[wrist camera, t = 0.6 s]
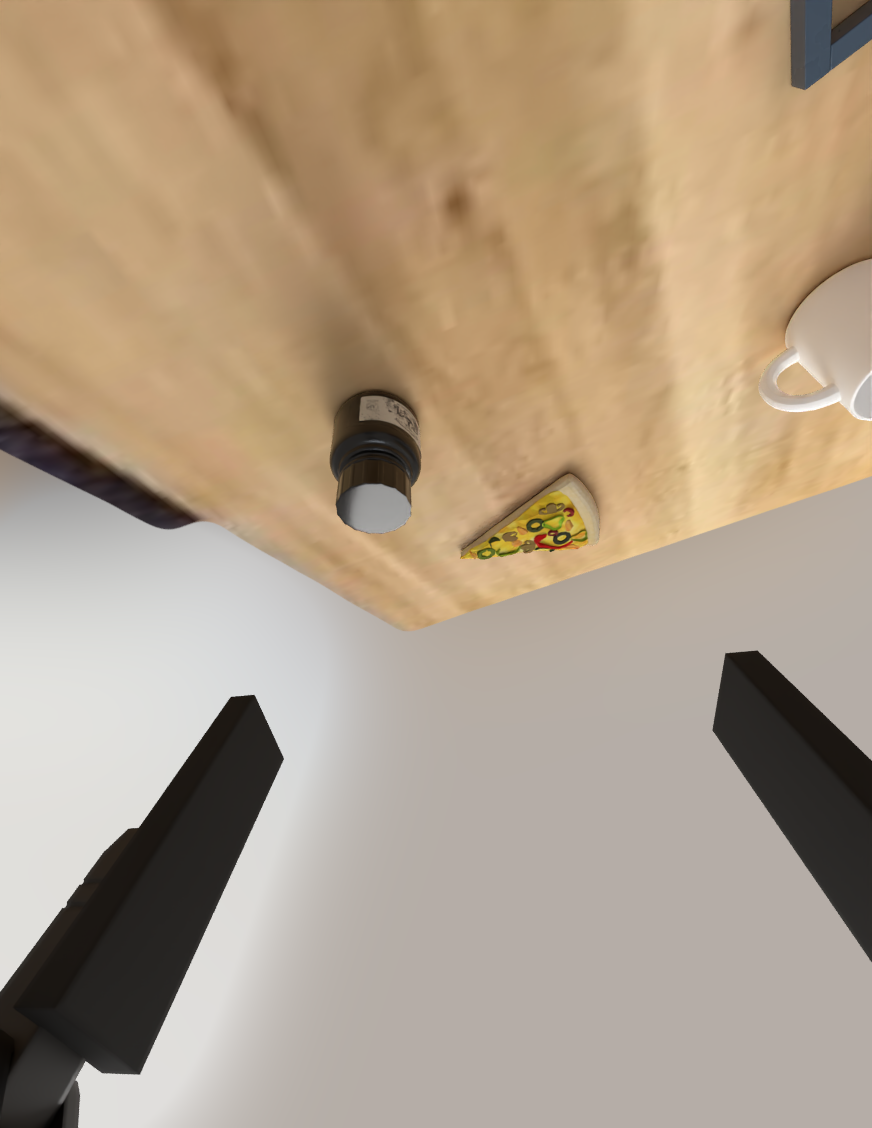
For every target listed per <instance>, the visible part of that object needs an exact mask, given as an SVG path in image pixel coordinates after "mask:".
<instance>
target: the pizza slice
mask: <svg viewBox="0 0 872 1128" xmlns="http://www.w3.org/2000/svg"><path fill="white" fill-rule="evenodd" d="M599 532H600V518H599V512H598V509H597V506H596V503H595V501H594V499H593V497H592V495H591V494H590V492H589V491H588V489H587V488H586V487H585V486H584V484H583V483H582V482H581V481H580V480H579V479H578V478H577V477H576V476H574V475H572V474H570V473H568V474H566V475H564V476H563V477H561V478H559V479H558V480H557V481H555V482H554V483H553V484H551V485H550V486H549V487H547V488H546V489H544V490H543V491H542V492H540V493H539V494H538V495H536V496H535V497H534V498H532V499H531V500H529V501H528V502H527V503H525V504H524V505H523V506H521V507H520V508H519V509H517V510H516V511H515V512H513V513H512V514H511V515H509V516H508V517H507V518H505V519H504V520H502V521H501V522H500V523H498V524H497V525H495V526H494V527H493V528H491V529H490V530H489V531H487V532H486V533H485V534H484V535H482V536H481V537H480V538H478V539H477V540H476V541H474V542H473V543H472V544H470V545H469V546H468V547H466V548H465V549H463V550H462V552H461V558H460V559H468V558H474V559H475V558H479V559H488V558H491V557H498V556H500V557H503V556H507V555H512V554H515V553H521V552H524V553H530V552H532V551H548V550H549V551H550V552H552V551H554V550H567V549H578V548H580V547H582V546H584V545H587V546H593V545H596V544H597V543H598V540H599Z"/></svg>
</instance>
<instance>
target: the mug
mask: <svg viewBox="0 0 872 1128" xmlns="http://www.w3.org/2000/svg"><path fill="white" fill-rule="evenodd" d="M785 344H786V347H787V350H785V351H784V352H782V353H781V354H779V355H778V356H777V357H776V358H774V359H773V360H772V361H771V362H770V363H769V364H768V365H767V367H766V368H765V369H764V371H763V372H762V374H761V377H760V380H759V392H760V395H761V397H762V398H763V400H764V401H765V402H766V403H767V404H769V405H770V406H772V407H773V408H776V409H778V410H782V411H788V412H805V411H811V410H815V409H819V408H822V407H825V406H828V405H831V404H833V403H836V402H838V401H839V402H840V403H841V404H842V405H843V406H844V407H845V408H846V409H847V410H848V411H849V412H850V413H851V414H852V415H853V416H854V417H856V418H858V419H861V420H868V421H872V259H868V260H864V261H861V262H858V263H855V264H853V265H851V266H849V267H847V268H845V269H843V270H841V271H839V272H838V273H836V274H834V275H833V276H831V277H830V278H828V279H827V280H826V281H824V282H823V283H822V284H820V285H819V286H818V287H817V288H816V289H815V290H814V291H812V292H811V293H810V294H809V295H808V296H807V298H806V299H805V300H804V301H803V302H802V303H801V305H800V306H799V307H798V308H797V310H796V311H795V313H794V315H793V316H792V318H791V320H790V322H789V324H788V327H787V330H786V334H785ZM796 362H799V363H800V364H801V365H802V366H803V367H804V368H805V369H806V370H807V371H808V372H809V373H810V374H811V375H812V376H813V377H814V378H815V379H816V380H817V381H818V382H819V383H820V384H821V385H822V386H823V387H824V388H822V389H820V390H817V391H815V392H812V393H809V394H804V395H790V394H787V393H784V392H783V391H781V390H780V389H779V388H778V386H777V378H778V376H779V374H780V373H781V372H782V371H783V370H785V369H786V368H787V367H789V366H790V365H792V364H794V363H796Z"/></svg>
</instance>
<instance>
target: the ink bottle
mask: <svg viewBox="0 0 872 1128" xmlns="http://www.w3.org/2000/svg"><path fill="white" fill-rule="evenodd" d="M330 467H331V470H332V473H333V475H334V477H335V478H336V480H337V481H338V489H337V498H336V507H337V515H338V516H339V517H340V518H341V519H342V521H343V522H344V523H345V524H347V525H348V526H350V527H352V528H353V529H355V530H358V531H362V532H366V533H380V534H383V533H386V532H390V531H395V530H396V529H398V528H399V527H401V526H402V525H405V524H406V522H407V520H408V519H409V517H410V516H411V487H412V486H413V485H414V484H415V482H416V481H417V479H418V477H419V474H420V470H421V444H420V430H419V424H418V421H417V418H416V416H415V414H414V413H413V411H412V410H411V408H410V407H409V406H408V405H407V404H406V403H404V402H403V401H402V400H401V399H399V398H397V397H396V396H393V395H391V394H388V393H385V392H379V391H371V392H365V393H361V394H358V395H356V396H354V397H352V398H350V399H349V400H348V401H346V402H345V403H344V404H343V405H342V407H341V408H340V409H339V411H338V413H337V415H336V418H335V423H334V431H333V438H332V445H331V452H330Z"/></svg>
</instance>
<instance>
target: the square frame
mask: <svg viewBox="0 0 872 1128" xmlns="http://www.w3.org/2000/svg"><path fill="white" fill-rule="evenodd" d="M790 1H791V75H792V86H793V87H796V88H800V89H803V90H806V89H807V88H809V87H810V86H811V85H813V84H814V83H815V82H816V81H818V80H819V79H820V78H822V77H823V76H824V75H826V74H827V73H828V72H829V71H830V70H832V69H833V68H835V67H836V66H837V65H839V64H840V63H841V62H842V61H844V60H845V59H846V58H848V57H849V56H850V55H852V54H853V53H854V52H856V51H857V50H858V49H860V48H861V47H862V46H864V45H865V44H866V43H868V42H869V41H870V40H871V39H872V0H870V1H868V2H867V3H866V4H864V5H863V6H862V7H861V8H859V9H858V10H857V11H856V12H854V13H853V14H852V15H851V16H849V17H848V18H847V19H846V20H844V21H843V22H842V23H841V24H839V25H838V26H837V27H836V28H834V29H833V30H832V31H831V24H832V0H790Z"/></svg>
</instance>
